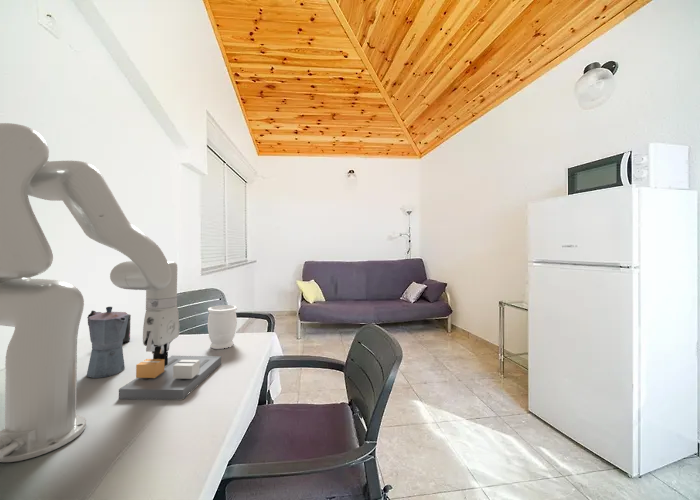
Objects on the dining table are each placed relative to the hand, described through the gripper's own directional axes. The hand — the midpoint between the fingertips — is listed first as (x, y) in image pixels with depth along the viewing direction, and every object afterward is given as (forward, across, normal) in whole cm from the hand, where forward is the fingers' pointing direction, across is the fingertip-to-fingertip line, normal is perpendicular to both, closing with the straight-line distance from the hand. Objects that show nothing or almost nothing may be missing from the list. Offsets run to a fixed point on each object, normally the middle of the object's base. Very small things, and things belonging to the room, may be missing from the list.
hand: (160, 365), depth 82 cm
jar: (+4, +28, -6) cm, 29 cm away
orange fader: (+1, -4, 0) cm, 4 cm away
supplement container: (+4, +30, +35) cm, 46 cm away
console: (+4, 0, -5) cm, 6 cm away
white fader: (+1, -4, -10) cm, 11 cm away
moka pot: (+4, +4, +19) cm, 20 cm away
